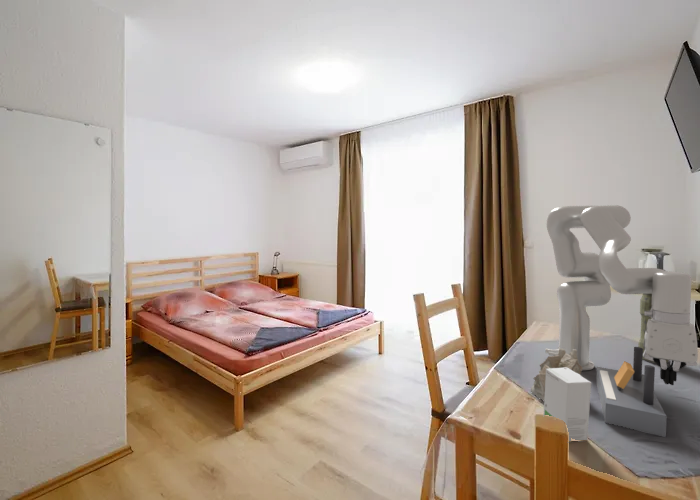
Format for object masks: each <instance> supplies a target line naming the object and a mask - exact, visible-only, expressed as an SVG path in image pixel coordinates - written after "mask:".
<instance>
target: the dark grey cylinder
mask: <svg viewBox="0 0 700 500" xmlns="http://www.w3.org/2000/svg"><path fill="white" fill-rule="evenodd" d="M642 358H643V348H640V347H638V346H633V365H632V368H633V370H634V374H633V380H635V381H639V382H641V381H642V374H643V360H642Z"/></svg>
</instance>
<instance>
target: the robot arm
mask: <svg viewBox="0 0 700 500" xmlns="http://www.w3.org/2000/svg"><path fill="white" fill-rule="evenodd" d="M631 220H632V219H631V214H630V211H629V210H628V209H627V208H626V207H624V206H621V205H617V204H616V205H615V204H614V205H612V204H611V205H608V204H607V205H565V206H563V205H562V206H558V207H555V208H554V209H552V210H551V211H550V212H549V213H548V215H547V219H546V229H547V232H548V235H549V238H550V240H551V243H552V249H553V253H554V254H553V255H554V259H555V263H556V265H555V266H556V269H557V272H558V275H560V276H561V277H563V278H568V279H570V278H571V279H574V278H578V279H580V278H584V280H570V281H567V282H563V283H561V284H560V285H559V286H558V287H557V289H556V297H557V302H558V309H559V327H558V328H559V329H558V331H559V332H558V333H559V334H558V335H559V336H558V347H557V348H555V349H551V348H545V354H548V356H557V355H558V351H559V349H564V350H565V352H566V354H568V355H569V354H570V352H572V350H573V349H576V350H577V353H576V354H577V360H578V363H579V365H580V366H581V367H582V369H583V370H582V371H590V370H591V371H592V370H593V369H594V368H595V364H594V362H593V361H592V360H590V339H591V337H590V336H591V335H590V334H591V319H590V315H589V314H588V312H587V311H586V309H585V307H586V308H587V307H600V306H605V305H607V304H608V303H610V300H611V298H612V291H611V288H612V289H613V290H615V292H617V293H620V294H622V295H640V294H641V295H643V294H652V308H651V310H650V311H645V316H650V317H651V319H648V322H647V326H646V331H645V337H644V353H643V357H644V358H645V359H648V360H651V361H654V362H655V363H657V364H656V365H658V366H659V367H660V369H659V370H660V371H659V372H660V375H659V378H660V379H661V380H662V381H663V382H664V384H665V385H670V386H674V385H675V384H674V383H675V382H677V381H678V379H677V378H678V377H677V375H678V374H677V373H678V372H680V370H681V369H682V368H684V367H693V366H695V367H696V366H697V365H698V358H699V351H698V350H699V349H698V339H697V331H696V327H695V325H694V324H693V323H691V301H692V300H691V299H692V278H691V275H689V274H688V273H687V272H681V271H668V270H665V269H662V270H661V268H657V267H632V268H631V267H630V268H627V267H626V266H625V265H624V264H623V262H622V261H621V260H620V258H619V256H618V253H619V252H620V251H622V250H624V249H626V248H627V247H628V246H629V244H630V243H631V240H632V239H631V236H630V234H629V233H628V231H626V229H625V228H627V227H628V226H629V225H630V222H631ZM570 229H585V230H586V231H587V233H588V235H589V236H590V237H591V238H592V241H593V242H594V243H595V244H596V245H597V247H598V248H599V250H600V251H599V254H597V253H595V252H592V251H591V252H590V251H589V252H588V251H587V252H582V251H581V247H580V242H579V240H578V238H577V237H576V235H575V233H573V232H572V231H571V230H570ZM666 360H669V361H670V362H669V363H670V365H668V364H666ZM655 363H654V364H655Z"/></svg>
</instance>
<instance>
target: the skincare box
mask: <svg viewBox="0 0 700 500" xmlns="http://www.w3.org/2000/svg"><path fill="white" fill-rule="evenodd" d="M591 392H592V382H591V381H590V380H589V379H587V378H585V377H583V376H582V374H581V375H580V374H578V373H575V372H574V371H572V370H571V369H569V368H567V367H564V368H549V369H546V380H545V398H544V401H543V416H544V415H549V416H553V417H556V418H559V419H561V420H563V421H564V422H565V423H566V425H567V428H568V432H569V441H571V438H572V439H575V440H587V441H588V434H589V433H588V432H589V423H590V422H589V420H590V407H591V394H592V393H591Z"/></svg>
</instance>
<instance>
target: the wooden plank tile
mask: <svg viewBox="0 0 700 500" xmlns="http://www.w3.org/2000/svg"><path fill="white" fill-rule="evenodd" d="M618 370H619V371H618V372H617V374H616V375H615V377H614V378H615V383H616V385H617V388H618V390H619V391H620V390H621V388H622V389H624V388H625V386H626V385H627V383H628V381H629V380H630V378H631V377H632V375H633V374H634V370H633V365H632V364H631V363H629V362H627V361H623V363H622V364H621V366H620V367H619V369H618Z"/></svg>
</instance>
